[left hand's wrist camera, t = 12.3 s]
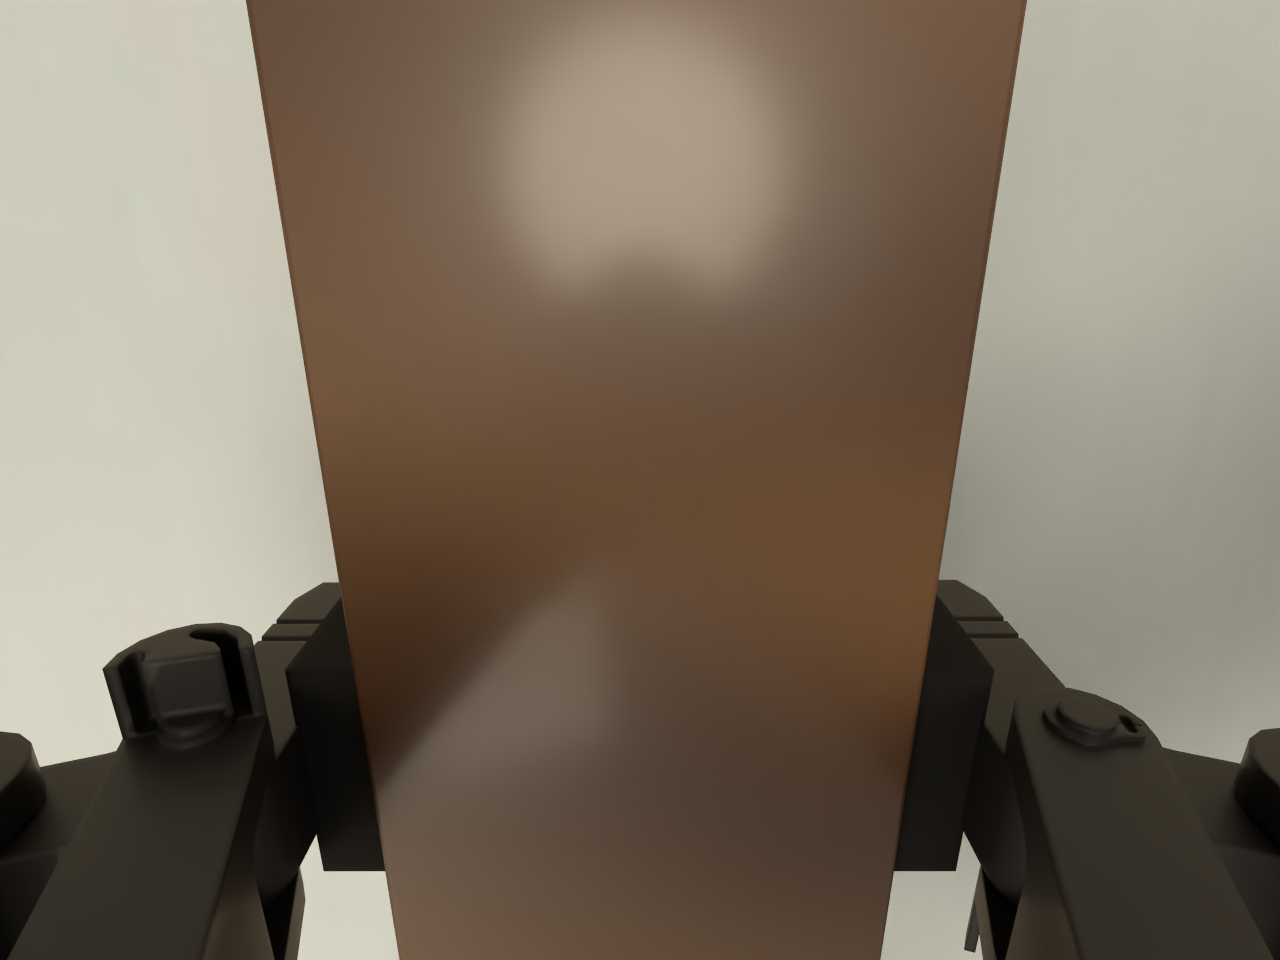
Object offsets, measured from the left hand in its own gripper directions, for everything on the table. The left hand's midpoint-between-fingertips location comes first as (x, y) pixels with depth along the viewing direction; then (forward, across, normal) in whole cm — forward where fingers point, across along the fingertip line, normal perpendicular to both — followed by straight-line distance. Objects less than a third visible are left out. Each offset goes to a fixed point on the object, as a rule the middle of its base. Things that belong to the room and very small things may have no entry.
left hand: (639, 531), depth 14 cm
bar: (+1, 0, -26) cm, 26 cm away
